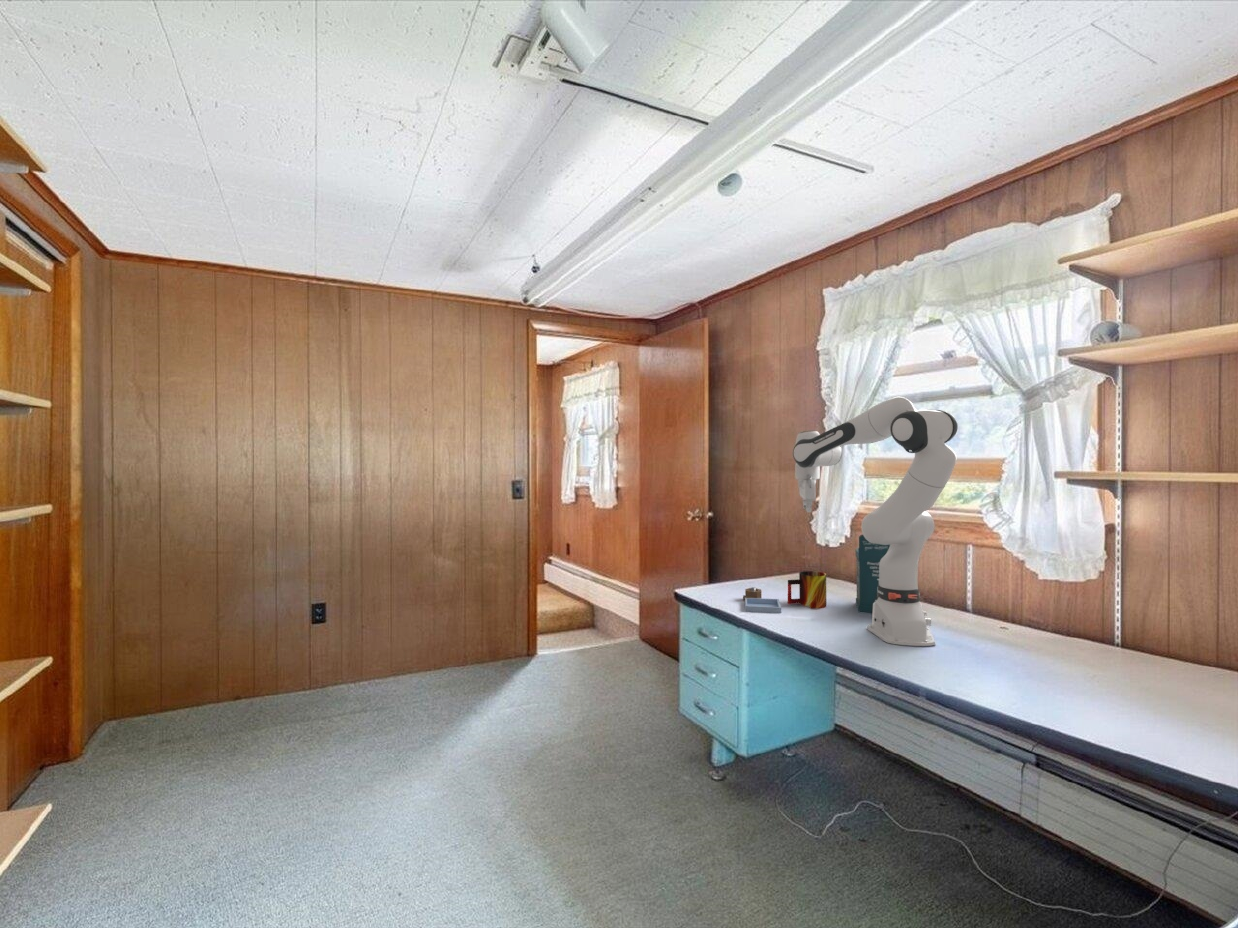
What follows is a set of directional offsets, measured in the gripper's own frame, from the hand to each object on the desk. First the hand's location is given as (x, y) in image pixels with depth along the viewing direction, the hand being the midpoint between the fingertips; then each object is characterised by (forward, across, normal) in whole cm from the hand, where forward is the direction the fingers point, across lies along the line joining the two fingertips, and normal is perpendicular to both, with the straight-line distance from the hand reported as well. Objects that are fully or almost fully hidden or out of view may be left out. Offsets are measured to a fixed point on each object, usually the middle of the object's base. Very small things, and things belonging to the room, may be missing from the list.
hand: (807, 510), depth 218 cm
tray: (+36, -10, +17) cm, 40 cm away
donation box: (+36, -1, -26) cm, 44 cm away
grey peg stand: (+36, +1, +20) cm, 41 cm away
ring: (+35, +1, +20) cm, 40 cm away
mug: (+36, -2, -1) cm, 36 cm away
